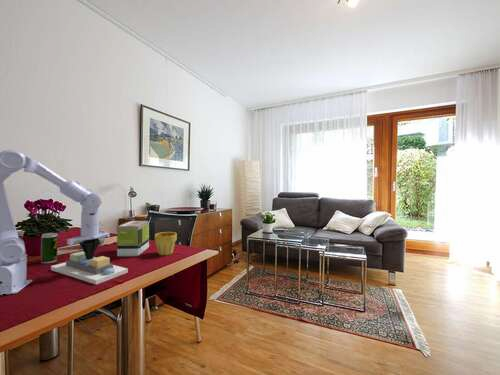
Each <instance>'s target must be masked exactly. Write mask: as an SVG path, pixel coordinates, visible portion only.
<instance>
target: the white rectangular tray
mask: <svg viewBox="0 0 500 375" xmlns="http://www.w3.org/2000/svg"><path fill="white" fill-rule="evenodd" d="M50 271H52V272H56V273H59V274H62V275H65V276H69V277H72V278H75V279H77V280H81V281H84V282H85V283H86V282H87V283H89V284H93V285H99V284H102V283H105V282H107V281H109V280H113V279H115V278H118V277H120V276H122V275H125V274H127V273H129V272H128V271H129V268H127V267H123V266H118V265H115V264H114V263H110V265H107V266H104V267H100V268H94V267H90V265H83V264H80V262H72V261H70V259H67V260H65V262H61V263H58V264H54V265H50Z"/></svg>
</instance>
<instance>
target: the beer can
mask: <svg viewBox="0 0 500 375" xmlns="http://www.w3.org/2000/svg"><path fill="white" fill-rule="evenodd" d="M58 237H59V235H58V232H47V233H43V234H41V237H40V239H41V240H40V263H41V264H43V265H44V264H45V265H47V264H51V263H55V262H57V260H58V251H59V250H58V246H59V242H58V241H59V238H58Z"/></svg>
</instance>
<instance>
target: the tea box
mask: <svg viewBox="0 0 500 375" xmlns="http://www.w3.org/2000/svg"><path fill="white" fill-rule="evenodd" d="M149 247H150V221H149V220H130V221H127V222H124V223H122V224H120V225H118V226H117V228H116V256H117V257H139V256H140V255H141V254H142V253H143V252H145V251H146V250H147V249H149Z"/></svg>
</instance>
